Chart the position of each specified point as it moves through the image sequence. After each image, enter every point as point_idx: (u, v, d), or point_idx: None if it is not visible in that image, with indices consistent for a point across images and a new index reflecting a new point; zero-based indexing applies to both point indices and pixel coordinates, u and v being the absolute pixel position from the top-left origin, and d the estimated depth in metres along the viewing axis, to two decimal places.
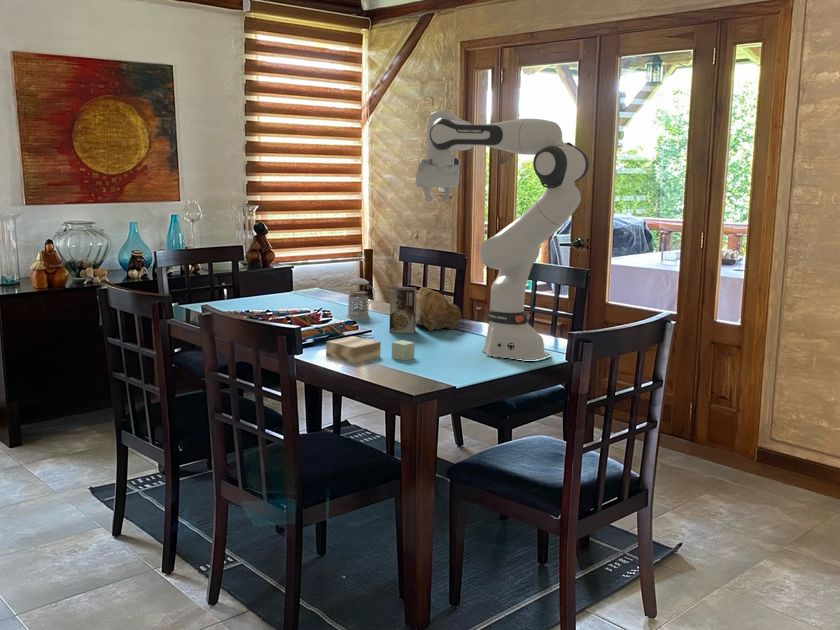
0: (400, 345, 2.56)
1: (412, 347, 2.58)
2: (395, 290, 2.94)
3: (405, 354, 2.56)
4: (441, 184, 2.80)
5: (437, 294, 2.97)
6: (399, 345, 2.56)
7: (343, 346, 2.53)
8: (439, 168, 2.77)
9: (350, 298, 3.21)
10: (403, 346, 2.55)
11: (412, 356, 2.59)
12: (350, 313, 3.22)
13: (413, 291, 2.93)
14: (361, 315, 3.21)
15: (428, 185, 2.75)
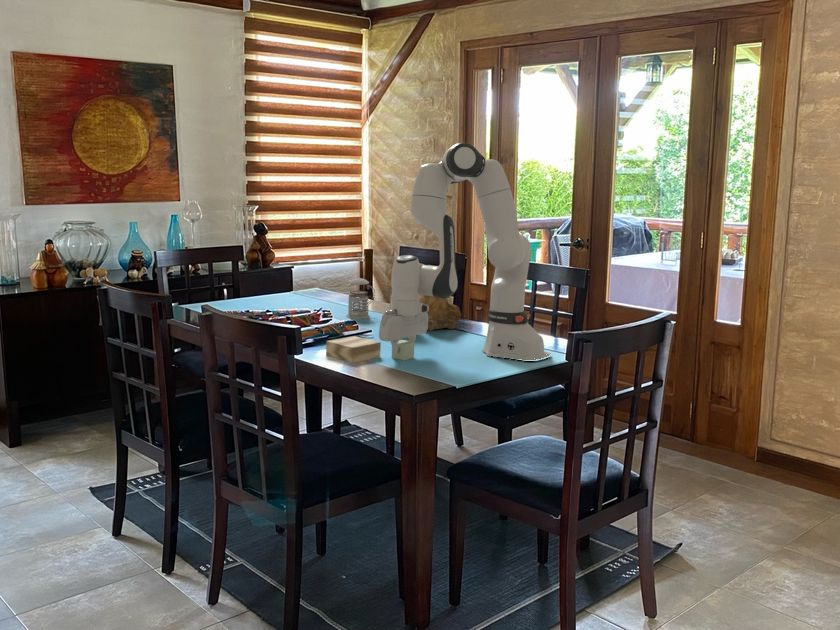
0: (400, 345, 2.56)
1: (412, 347, 2.58)
2: None
3: (405, 354, 2.56)
4: (407, 334, 2.57)
5: None
6: (399, 345, 2.56)
7: (342, 346, 2.53)
8: (405, 318, 2.54)
9: (350, 298, 3.21)
10: (403, 346, 2.55)
11: (412, 356, 2.59)
12: (350, 313, 3.22)
13: None
14: (361, 315, 3.21)
15: (392, 339, 2.51)
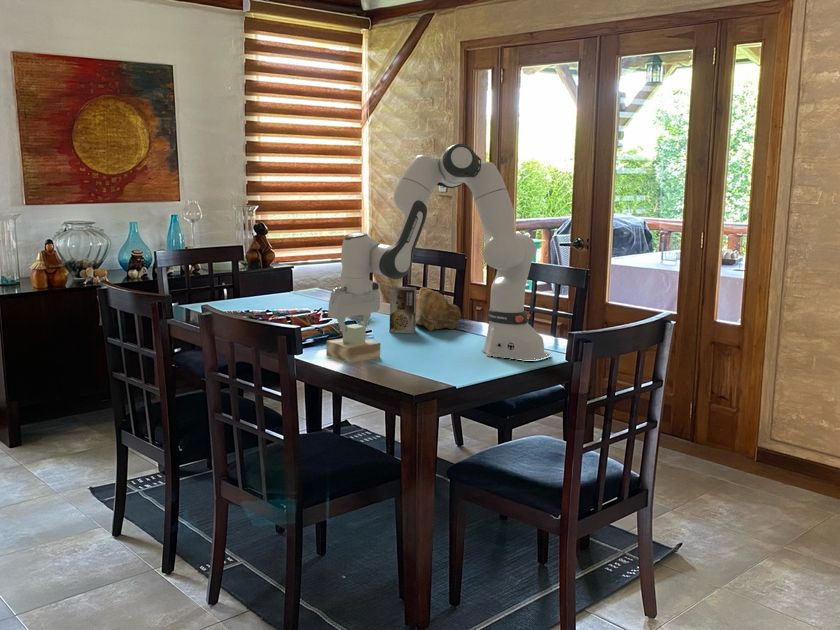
0: (350, 329, 2.55)
1: (363, 331, 2.57)
2: (395, 290, 2.94)
3: (355, 338, 2.55)
4: (358, 312, 2.55)
5: (437, 294, 2.97)
6: (349, 329, 2.55)
7: (340, 346, 2.53)
8: (355, 296, 2.52)
9: None
10: (353, 330, 2.54)
11: (363, 340, 2.58)
12: None
13: (413, 291, 2.93)
14: (361, 315, 3.21)
15: (342, 316, 2.50)
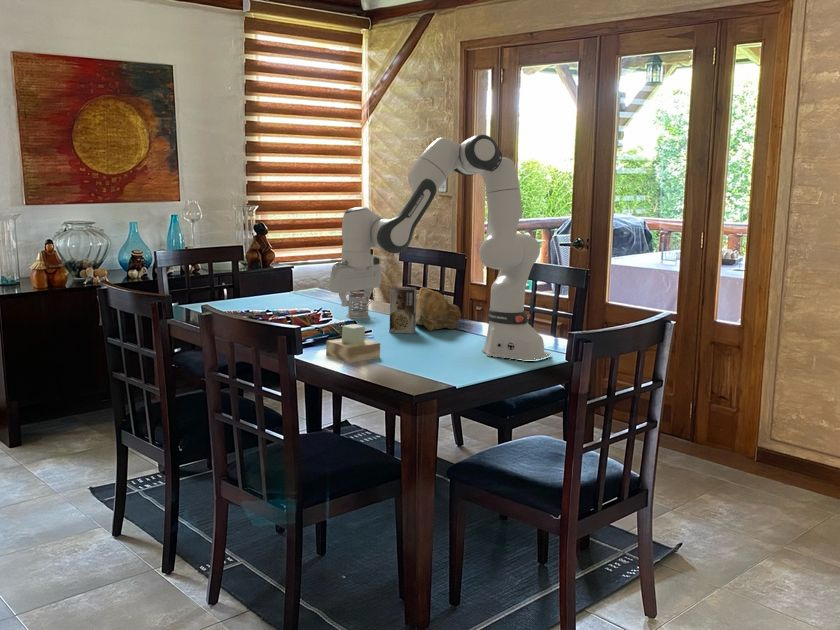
0: (349, 329, 2.55)
1: (362, 331, 2.57)
2: (395, 290, 2.94)
3: (354, 338, 2.55)
4: (359, 287, 2.53)
5: (437, 294, 2.97)
6: (348, 329, 2.55)
7: (340, 346, 2.53)
8: (356, 270, 2.50)
9: (350, 298, 3.21)
10: (352, 329, 2.54)
11: (362, 340, 2.58)
12: (350, 313, 3.22)
13: (413, 291, 2.93)
14: (361, 315, 3.21)
15: (343, 290, 2.48)
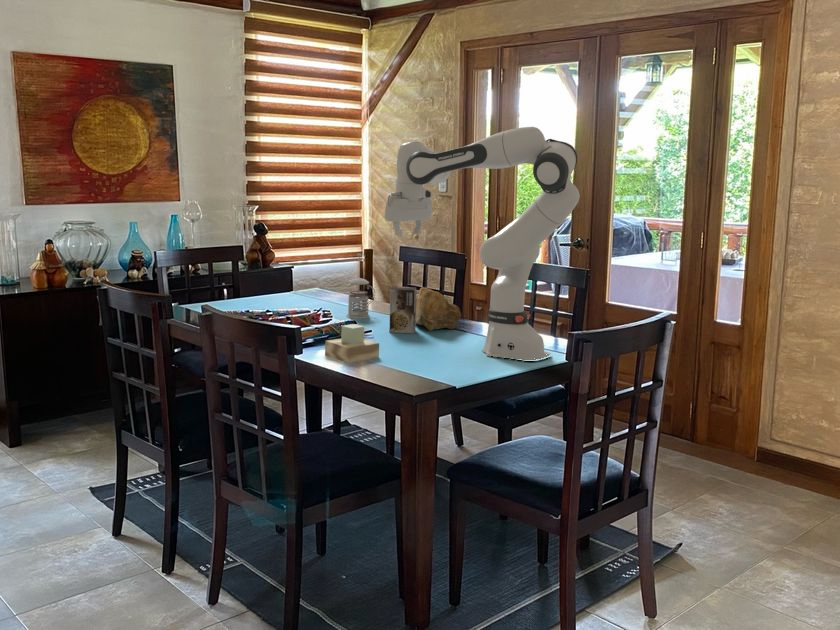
0: (349, 329, 2.55)
1: (361, 331, 2.57)
2: (395, 290, 2.94)
3: (353, 338, 2.55)
4: (412, 218, 2.69)
5: (437, 294, 2.97)
6: (348, 329, 2.55)
7: (339, 346, 2.53)
8: (409, 201, 2.67)
9: (350, 298, 3.21)
10: (351, 329, 2.54)
11: (362, 340, 2.58)
12: (350, 313, 3.22)
13: (413, 291, 2.93)
14: (361, 315, 3.21)
15: (398, 219, 2.64)
